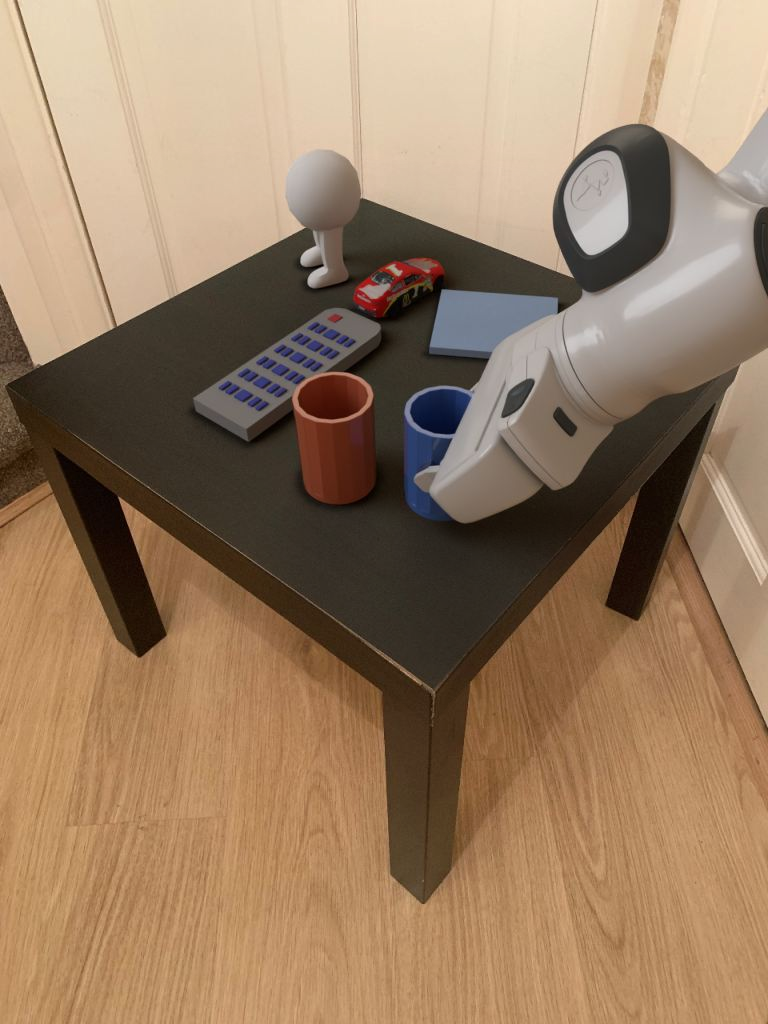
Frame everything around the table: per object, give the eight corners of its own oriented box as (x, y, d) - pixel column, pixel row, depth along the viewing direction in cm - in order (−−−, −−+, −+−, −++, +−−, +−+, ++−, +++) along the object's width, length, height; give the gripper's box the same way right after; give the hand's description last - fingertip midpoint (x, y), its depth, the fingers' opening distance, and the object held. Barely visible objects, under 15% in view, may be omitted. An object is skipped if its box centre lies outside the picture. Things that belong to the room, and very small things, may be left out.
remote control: (195, 412, 83) (191, 396, 82) (337, 315, 95) (336, 299, 93) (248, 443, 80) (245, 427, 78) (389, 338, 91) (388, 322, 90)
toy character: (288, 258, 104) (275, 141, 93) (355, 248, 106) (350, 132, 95) (300, 294, 98) (287, 174, 87) (371, 283, 100) (367, 164, 89)
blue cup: (481, 472, 72) (489, 389, 65) (475, 524, 68) (483, 441, 61) (410, 465, 73) (410, 382, 66) (399, 517, 69) (398, 434, 62)
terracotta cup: (381, 457, 78) (379, 375, 71) (369, 508, 73) (365, 426, 66) (312, 450, 79) (303, 368, 71) (295, 500, 74) (283, 418, 67)
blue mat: (557, 304, 96) (558, 297, 95) (555, 364, 88) (556, 357, 87) (441, 296, 97) (441, 289, 97) (429, 354, 89) (429, 346, 89)
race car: (422, 268, 102) (423, 239, 99) (453, 283, 99) (454, 254, 96) (346, 308, 96) (344, 278, 93) (376, 326, 93) (376, 296, 90)
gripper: (570, 274, 63) (448, 353, 73) (507, 436, 50) (368, 506, 59) (616, 332, 65) (491, 402, 75) (567, 501, 52) (423, 559, 62)
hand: (436, 449), depth 67 cm, fingers closed on blue cup, 7 cm apart
